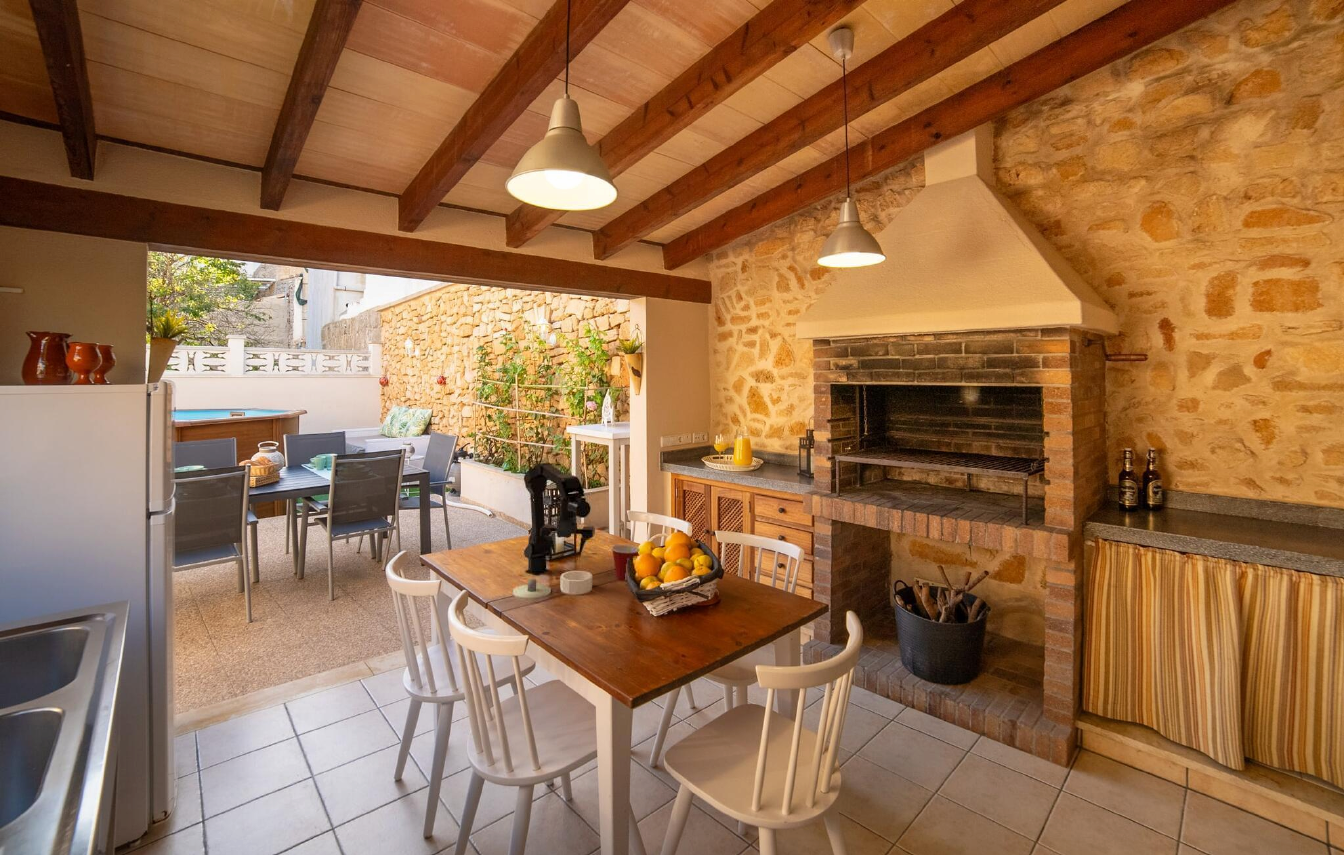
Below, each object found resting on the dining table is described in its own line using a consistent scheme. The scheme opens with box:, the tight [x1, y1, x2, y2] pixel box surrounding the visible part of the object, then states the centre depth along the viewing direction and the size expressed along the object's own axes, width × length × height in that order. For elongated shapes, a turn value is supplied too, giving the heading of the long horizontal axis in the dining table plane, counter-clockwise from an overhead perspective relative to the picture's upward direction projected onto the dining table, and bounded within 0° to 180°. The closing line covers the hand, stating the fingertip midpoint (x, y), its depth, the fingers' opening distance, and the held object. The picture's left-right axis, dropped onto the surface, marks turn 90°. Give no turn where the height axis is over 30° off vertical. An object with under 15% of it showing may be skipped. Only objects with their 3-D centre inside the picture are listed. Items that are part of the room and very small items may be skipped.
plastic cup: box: [611, 544, 640, 582], centre depth 227 cm, size 11×11×12 cm
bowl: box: [559, 570, 593, 596], centre depth 213 cm, size 11×11×5 cm
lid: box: [512, 578, 552, 600], centre depth 210 cm, size 13×13×4 cm
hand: (567, 554), depth 213 cm, fingers open, 9 cm apart
